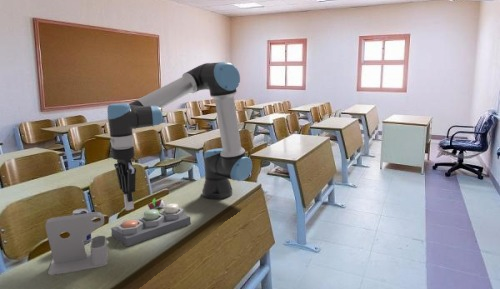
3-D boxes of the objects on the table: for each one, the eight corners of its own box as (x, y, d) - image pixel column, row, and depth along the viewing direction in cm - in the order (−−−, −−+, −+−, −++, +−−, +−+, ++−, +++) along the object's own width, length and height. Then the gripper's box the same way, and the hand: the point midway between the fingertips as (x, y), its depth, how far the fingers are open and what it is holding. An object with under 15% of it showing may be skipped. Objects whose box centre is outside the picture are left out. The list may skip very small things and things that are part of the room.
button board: (173, 215, 155) (172, 204, 154) (190, 223, 146) (190, 212, 145) (111, 235, 137) (110, 222, 136) (127, 246, 127) (126, 233, 126)
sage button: (154, 213, 144) (154, 208, 144) (161, 217, 140) (161, 211, 140) (141, 217, 140) (141, 212, 140) (148, 222, 136) (148, 216, 136)
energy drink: (83, 245, 129) (80, 214, 126) (72, 243, 130) (68, 212, 128) (94, 239, 133) (91, 208, 131) (83, 237, 135) (80, 207, 133)
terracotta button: (133, 224, 138) (133, 218, 138) (140, 228, 134) (140, 222, 134) (119, 228, 135) (119, 222, 134) (126, 233, 131) (125, 227, 130)
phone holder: (109, 251, 124) (103, 201, 121) (108, 265, 115) (102, 212, 112) (52, 260, 119) (45, 209, 115) (47, 276, 109) (39, 221, 106)
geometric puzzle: (142, 211, 154) (152, 197, 153) (147, 205, 161) (156, 191, 160) (156, 220, 155) (166, 206, 154) (160, 214, 162) (170, 201, 160)
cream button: (173, 207, 150) (173, 202, 150) (181, 211, 146) (181, 205, 146) (162, 211, 146) (161, 206, 146) (169, 215, 142) (169, 209, 142)
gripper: (104, 146, 130) (112, 207, 135) (120, 151, 121) (128, 216, 126) (124, 143, 135) (131, 202, 140) (141, 147, 126) (147, 210, 131)
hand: (129, 209), depth 133 cm, fingers closed
